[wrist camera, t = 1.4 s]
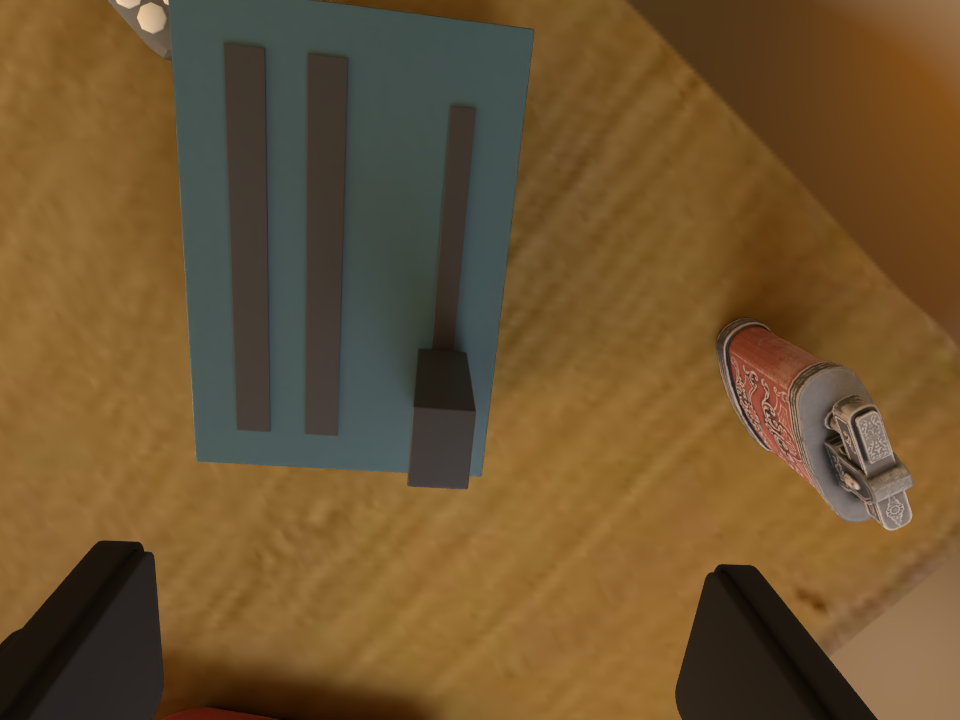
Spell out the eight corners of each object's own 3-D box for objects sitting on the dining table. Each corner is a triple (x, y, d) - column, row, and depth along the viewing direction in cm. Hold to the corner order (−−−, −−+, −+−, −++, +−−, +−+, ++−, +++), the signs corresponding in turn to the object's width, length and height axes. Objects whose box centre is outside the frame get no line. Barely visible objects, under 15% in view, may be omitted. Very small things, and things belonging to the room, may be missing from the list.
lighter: (808, 427, 33) (955, 536, 24) (752, 454, 34) (876, 572, 24) (762, 305, 31) (908, 374, 21) (702, 336, 31) (820, 417, 22)
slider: (467, 351, 22) (476, 410, 17) (460, 416, 22) (467, 489, 18) (418, 348, 21) (412, 406, 17) (413, 413, 22) (406, 487, 17)
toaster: (508, 62, 26) (538, 24, 18) (472, 400, 31) (484, 480, 24) (245, 28, 25) (161, -26, 17) (253, 385, 30) (191, 465, 22)
